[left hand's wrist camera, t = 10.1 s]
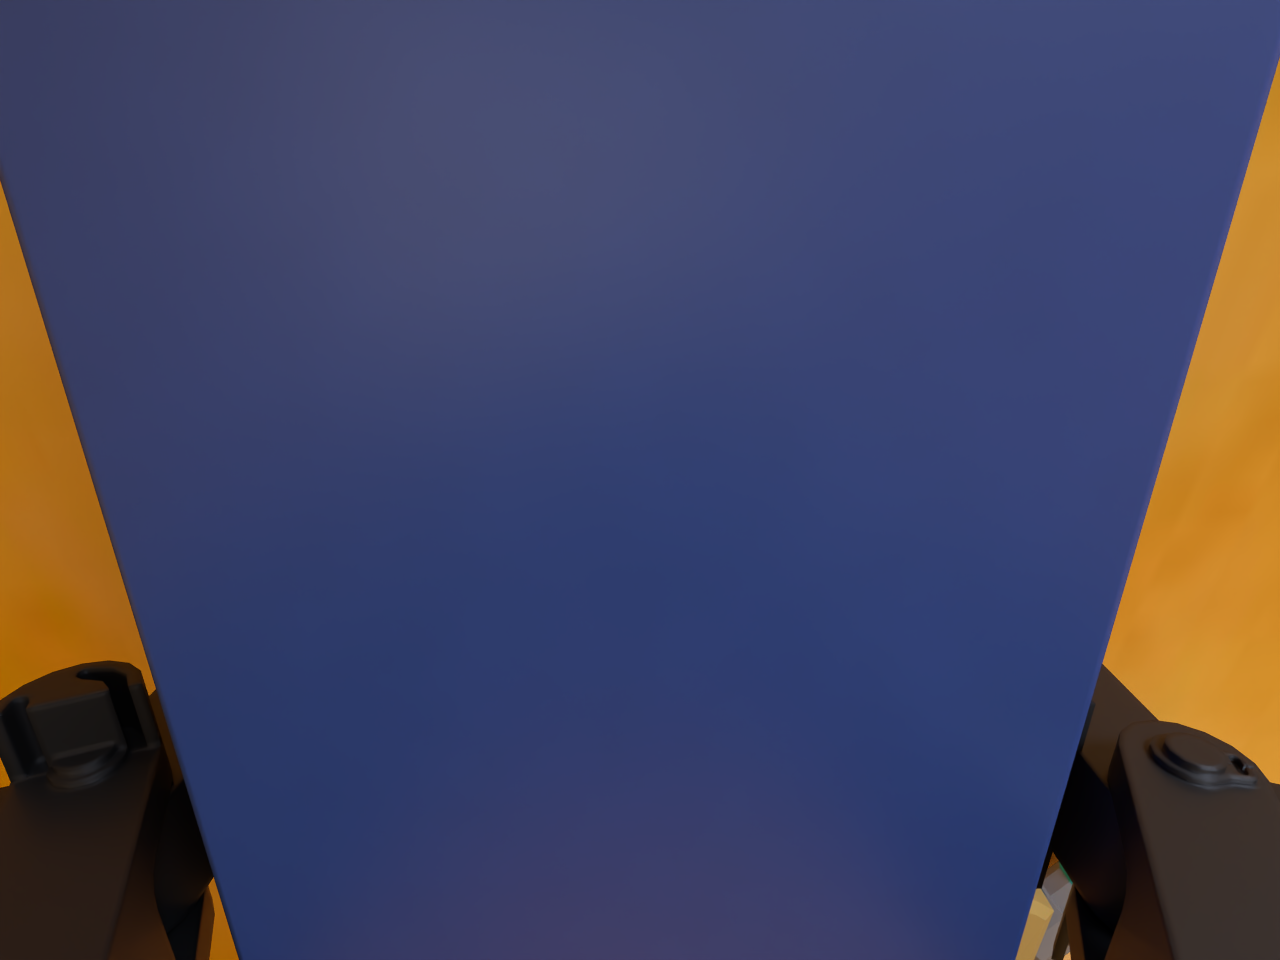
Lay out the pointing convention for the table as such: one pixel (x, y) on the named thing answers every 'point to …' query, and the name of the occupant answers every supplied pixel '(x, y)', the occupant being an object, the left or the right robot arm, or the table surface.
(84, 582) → the table surface
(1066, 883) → the toy gun
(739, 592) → the box
